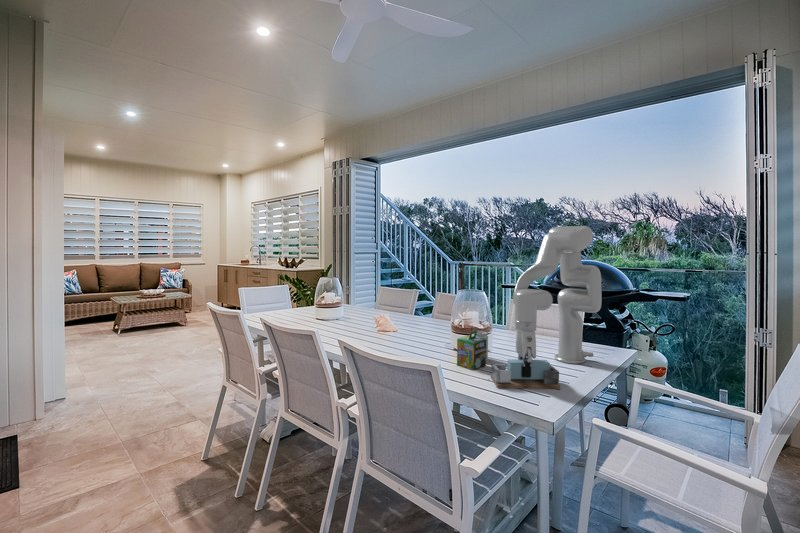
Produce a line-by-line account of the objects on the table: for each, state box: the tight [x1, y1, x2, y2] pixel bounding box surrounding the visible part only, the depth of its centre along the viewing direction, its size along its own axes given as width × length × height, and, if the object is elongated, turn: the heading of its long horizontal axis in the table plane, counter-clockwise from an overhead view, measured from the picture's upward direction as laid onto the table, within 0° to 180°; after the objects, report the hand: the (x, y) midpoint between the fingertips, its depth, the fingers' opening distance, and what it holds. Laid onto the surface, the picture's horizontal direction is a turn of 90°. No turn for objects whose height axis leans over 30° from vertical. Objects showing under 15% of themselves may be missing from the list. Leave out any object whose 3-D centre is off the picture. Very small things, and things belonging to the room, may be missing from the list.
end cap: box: [491, 363, 511, 383], centre depth 145 cm, size 5×8×4 cm, turn 179°
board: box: [490, 364, 561, 390], centre depth 145 cm, size 22×11×6 cm, turn 89°
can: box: [472, 330, 489, 360], centre depth 176 cm, size 8×8×12 cm
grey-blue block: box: [507, 358, 551, 379], centre depth 145 cm, size 14×4×6 cm, turn 89°
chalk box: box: [456, 330, 487, 371], centre depth 166 cm, size 9×9×15 cm
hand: (524, 374), depth 145 cm, fingers closed on grey-blue block, 4 cm apart
